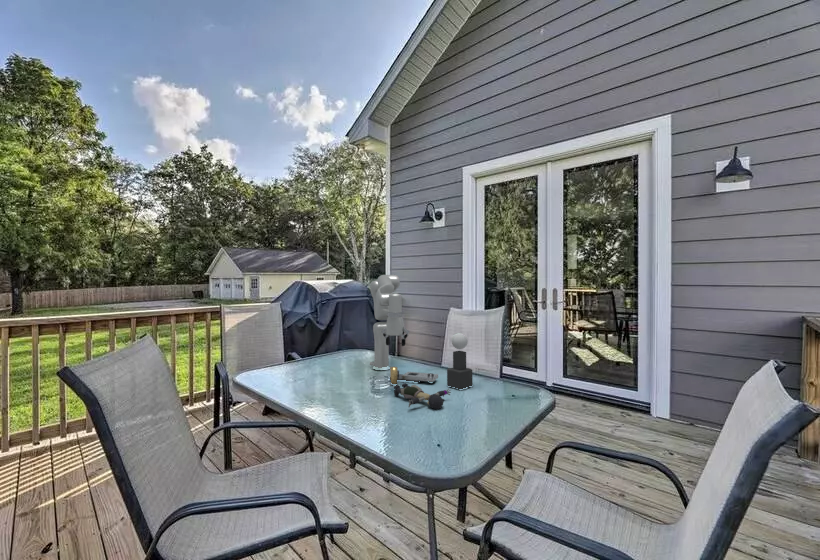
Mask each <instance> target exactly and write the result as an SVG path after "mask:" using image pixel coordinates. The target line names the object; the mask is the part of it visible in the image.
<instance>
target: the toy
mask: <svg viewBox="0 0 820 560" xmlns="http://www.w3.org/2000/svg"><path fill="white" fill-rule="evenodd" d="M393 389H394V390H393V395H394V397H398V396H400V395H401V396H403V398H404V399H408V408H411V406H412V405H417V404H418V403H421V402H422V401H427V402H426V403H427V405H428V406H429V407H430V408H432V409H434V410H440V409H441V408H442V407H443V405H444V401H445V398H442V397H445V396H446V395H448V396H451V394H452V391H451V389H450V388H447V389H444V390H439V391H437V392H435V393H433V394H429V393H426V392H425V391H424V390H423V389H422V388H421V387H420V386H418V385H417V384H412V385H409V383H404V382H403V383H402V384H401V386H400V385H398V384H397V385H396V386H393Z"/></svg>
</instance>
